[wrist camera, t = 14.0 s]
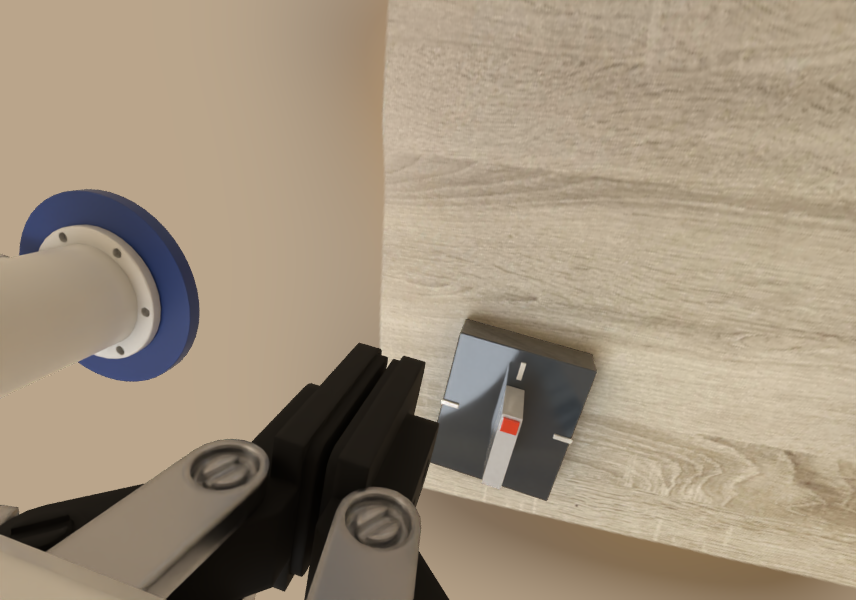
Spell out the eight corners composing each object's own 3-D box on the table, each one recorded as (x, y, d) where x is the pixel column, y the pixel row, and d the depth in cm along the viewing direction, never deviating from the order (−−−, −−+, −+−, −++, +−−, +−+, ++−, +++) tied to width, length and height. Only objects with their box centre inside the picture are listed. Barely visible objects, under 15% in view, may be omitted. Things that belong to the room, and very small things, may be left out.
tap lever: (504, 455, 36) (499, 492, 33) (487, 449, 37) (480, 486, 33) (524, 390, 34) (522, 421, 30) (506, 384, 35) (501, 415, 31)
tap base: (547, 477, 40) (548, 503, 37) (433, 440, 41) (425, 462, 38) (594, 354, 35) (599, 373, 33) (465, 317, 37) (458, 332, 34)
